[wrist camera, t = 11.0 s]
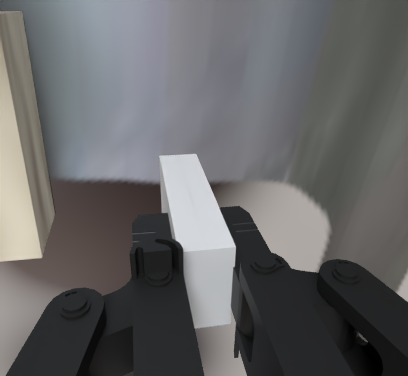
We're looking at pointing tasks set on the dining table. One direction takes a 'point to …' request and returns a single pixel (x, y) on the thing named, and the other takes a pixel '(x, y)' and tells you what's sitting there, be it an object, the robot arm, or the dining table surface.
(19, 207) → the maple block
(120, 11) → the dining table surface
